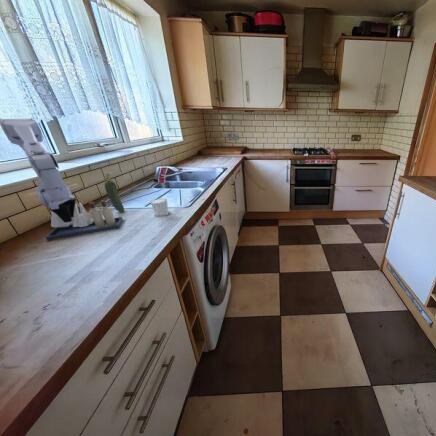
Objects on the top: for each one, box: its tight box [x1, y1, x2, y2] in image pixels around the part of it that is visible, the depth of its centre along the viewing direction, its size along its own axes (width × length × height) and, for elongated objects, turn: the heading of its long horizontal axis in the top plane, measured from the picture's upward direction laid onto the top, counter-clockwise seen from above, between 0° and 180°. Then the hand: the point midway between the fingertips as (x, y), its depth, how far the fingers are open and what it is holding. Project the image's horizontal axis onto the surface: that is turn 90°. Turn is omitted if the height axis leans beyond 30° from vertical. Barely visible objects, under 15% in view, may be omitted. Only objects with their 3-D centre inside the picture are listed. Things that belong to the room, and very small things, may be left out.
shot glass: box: [150, 198, 169, 217], centre depth 109 cm, size 7×7×7 cm
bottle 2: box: [100, 200, 117, 226], centre depth 96 cm, size 3×3×11 cm
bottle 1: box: [89, 201, 106, 228], centre depth 95 cm, size 3×3×11 cm
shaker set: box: [50, 202, 93, 228], centre depth 91 cm, size 12×4×11 cm, turn 108°
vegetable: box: [104, 171, 125, 213], centre depth 108 cm, size 4×4×20 cm
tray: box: [45, 216, 124, 241], centre depth 95 cm, size 9×23×2 cm, turn 115°
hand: (70, 219), depth 92 cm, fingers closed on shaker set, 4 cm apart
